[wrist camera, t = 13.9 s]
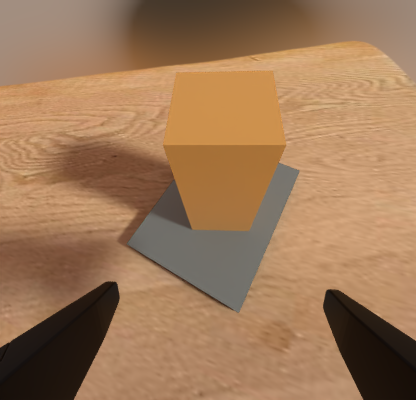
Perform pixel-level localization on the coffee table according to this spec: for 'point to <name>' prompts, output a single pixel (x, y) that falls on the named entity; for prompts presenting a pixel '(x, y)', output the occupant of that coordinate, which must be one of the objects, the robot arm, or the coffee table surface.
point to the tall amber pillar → (223, 145)
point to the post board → (213, 242)
